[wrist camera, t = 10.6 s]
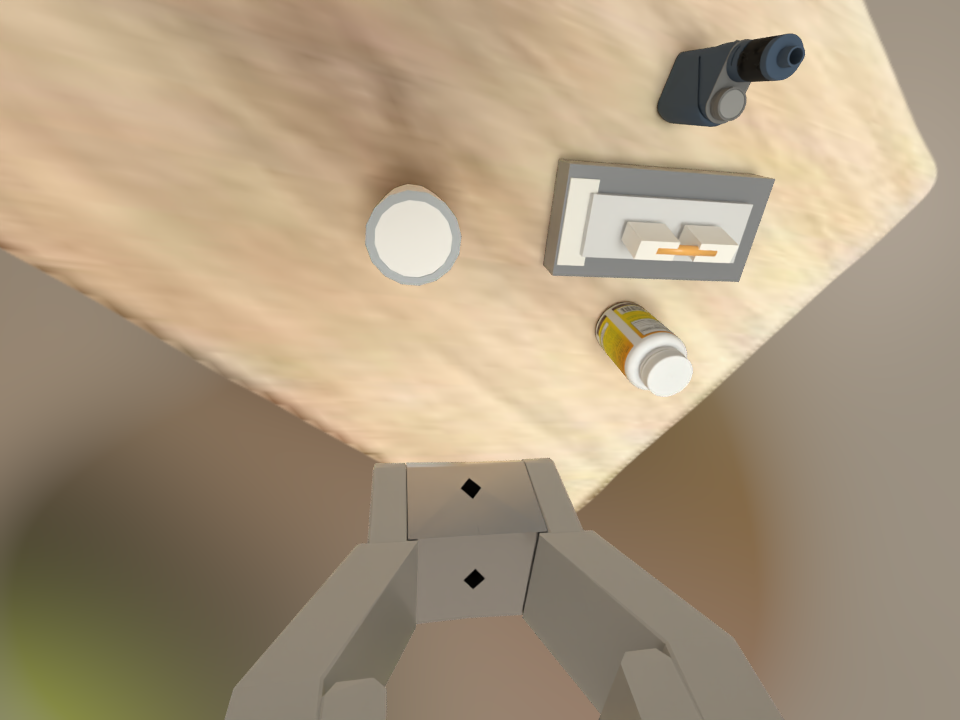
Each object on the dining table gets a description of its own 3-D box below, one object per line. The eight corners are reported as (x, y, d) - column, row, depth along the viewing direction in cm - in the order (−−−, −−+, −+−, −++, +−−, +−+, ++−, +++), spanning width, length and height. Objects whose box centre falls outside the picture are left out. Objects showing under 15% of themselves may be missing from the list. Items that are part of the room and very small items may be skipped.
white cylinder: (449, 172, 39) (458, 186, 33) (455, 255, 42) (464, 281, 36) (363, 179, 38) (356, 194, 32) (377, 262, 41) (372, 290, 35)
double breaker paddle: (627, 221, 38) (641, 241, 36) (720, 226, 39) (739, 246, 37) (621, 239, 39) (634, 260, 37) (711, 244, 40) (730, 263, 38)
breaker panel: (558, 159, 39) (574, 165, 36) (752, 174, 42) (783, 180, 39) (543, 264, 44) (555, 279, 40) (720, 271, 47) (745, 285, 43)
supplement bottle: (610, 360, 50) (655, 416, 41) (583, 323, 47) (626, 375, 38) (656, 328, 49) (712, 379, 40) (631, 288, 46) (686, 334, 37)
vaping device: (707, 56, 37) (826, 39, 27) (676, 127, 40) (774, 137, 29) (680, 43, 37) (791, 21, 26) (650, 116, 39) (741, 123, 29)
